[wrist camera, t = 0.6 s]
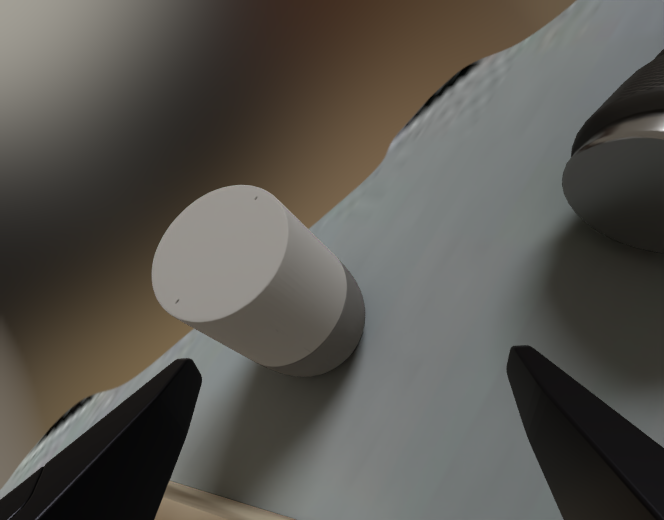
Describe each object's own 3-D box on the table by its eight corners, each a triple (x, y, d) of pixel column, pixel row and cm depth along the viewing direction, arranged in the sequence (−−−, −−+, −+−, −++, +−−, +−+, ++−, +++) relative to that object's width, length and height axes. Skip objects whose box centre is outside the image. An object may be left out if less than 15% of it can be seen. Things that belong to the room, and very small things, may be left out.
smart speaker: (334, 409, 22) (186, 363, 12) (259, 350, 28) (111, 282, 17) (395, 299, 25) (317, 179, 14) (314, 265, 30) (214, 159, 20)
